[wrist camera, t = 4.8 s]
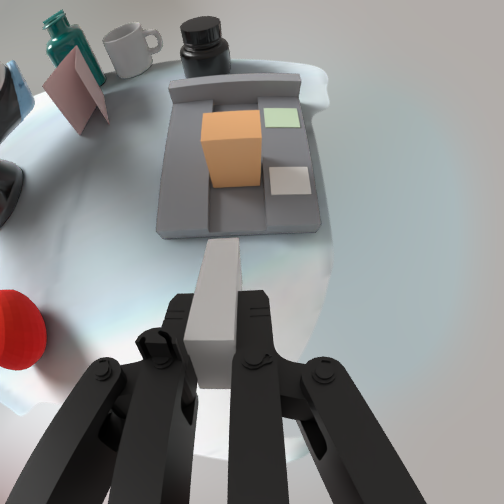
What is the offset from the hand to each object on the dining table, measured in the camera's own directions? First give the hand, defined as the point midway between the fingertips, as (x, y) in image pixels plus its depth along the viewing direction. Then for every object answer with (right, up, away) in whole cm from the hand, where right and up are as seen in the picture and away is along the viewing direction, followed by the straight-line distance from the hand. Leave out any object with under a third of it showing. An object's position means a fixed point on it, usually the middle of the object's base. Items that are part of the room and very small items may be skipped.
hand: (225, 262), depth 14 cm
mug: (-23, +42, +32) cm, 57 cm away
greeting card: (-28, +28, +28) cm, 48 cm away
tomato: (-33, -12, +18) cm, 39 cm away
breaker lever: (-1, +11, +21) cm, 24 cm away
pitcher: (-37, +40, +31) cm, 62 cm away
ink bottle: (-7, +35, +30) cm, 47 cm away
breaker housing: (-1, +14, +24) cm, 28 cm away
